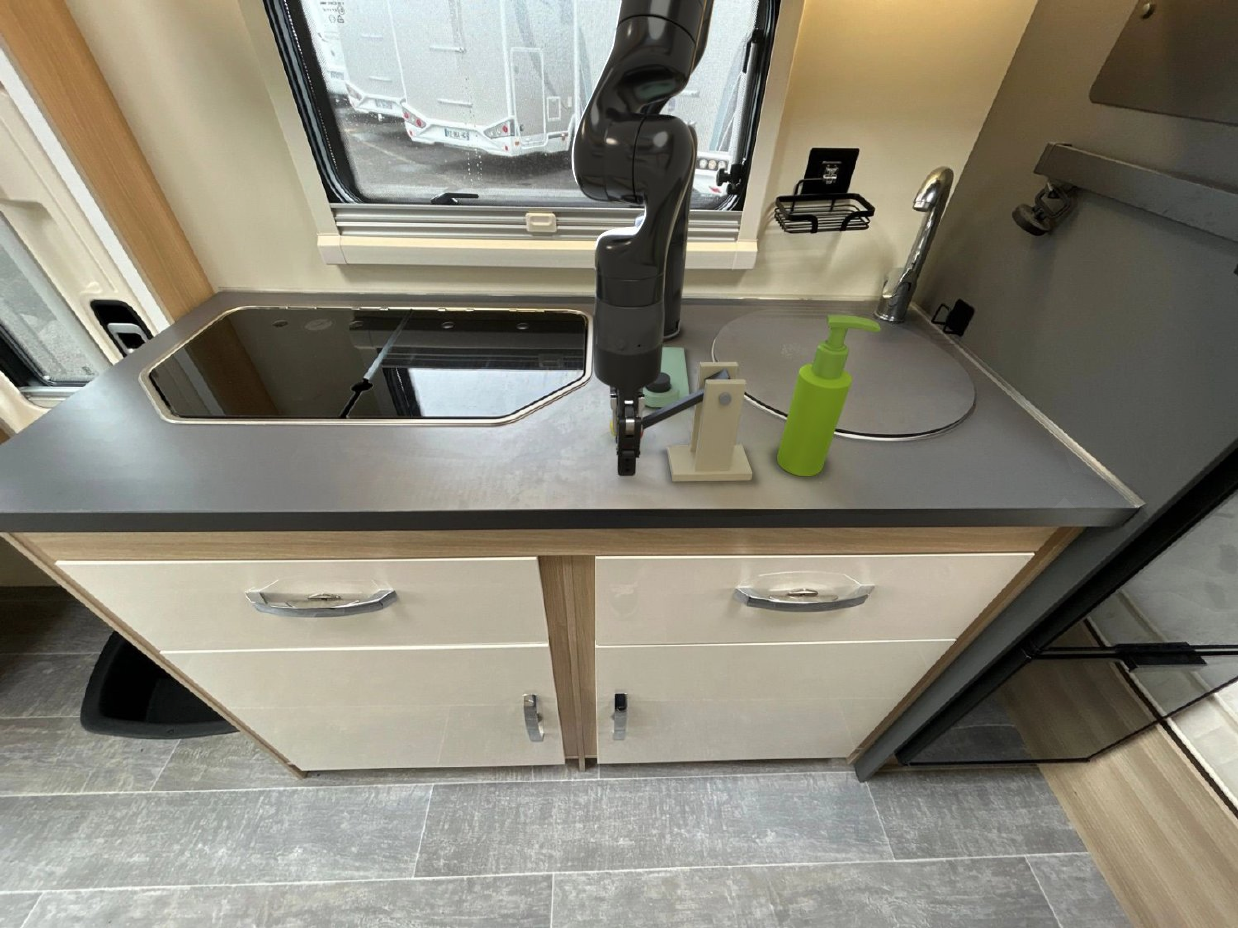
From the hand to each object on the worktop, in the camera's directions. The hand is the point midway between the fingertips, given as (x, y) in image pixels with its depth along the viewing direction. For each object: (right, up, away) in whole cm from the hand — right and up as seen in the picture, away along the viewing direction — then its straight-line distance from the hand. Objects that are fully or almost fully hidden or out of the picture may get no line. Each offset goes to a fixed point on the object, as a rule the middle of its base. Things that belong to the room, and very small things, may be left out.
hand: (625, 457), depth 67 cm
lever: (+7, +5, -3) cm, 9 cm away
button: (+5, +11, +13) cm, 17 cm away
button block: (+5, +14, +20) cm, 25 cm away
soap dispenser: (+24, -1, +2) cm, 24 cm away
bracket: (+11, -1, +2) cm, 11 cm away
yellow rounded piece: (0, +4, +7) cm, 8 cm away
